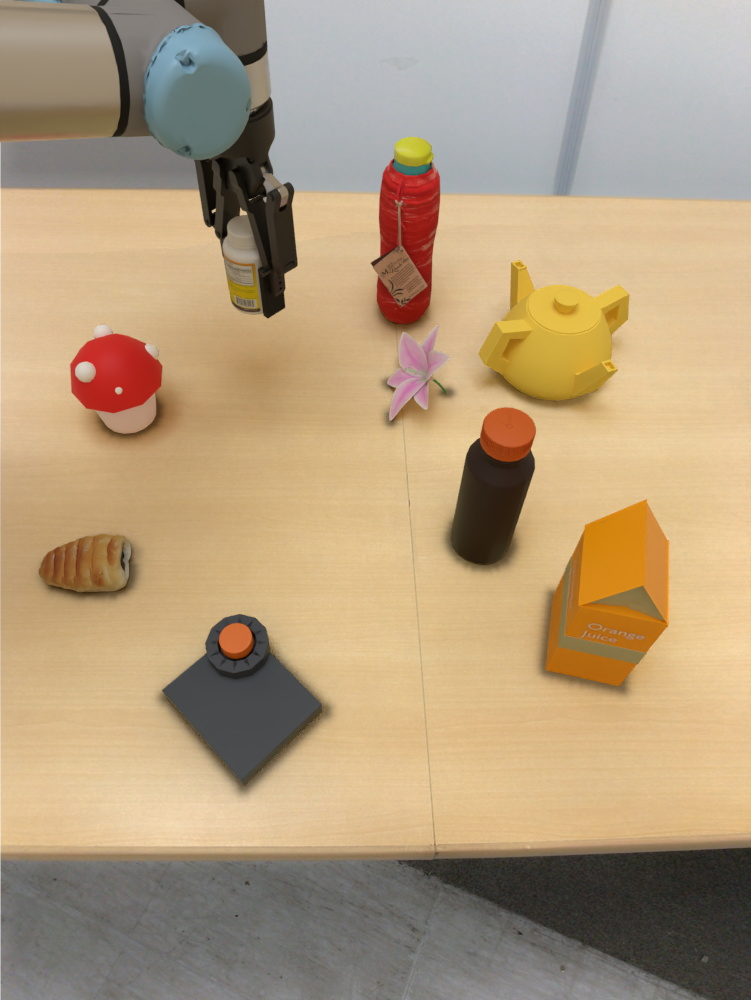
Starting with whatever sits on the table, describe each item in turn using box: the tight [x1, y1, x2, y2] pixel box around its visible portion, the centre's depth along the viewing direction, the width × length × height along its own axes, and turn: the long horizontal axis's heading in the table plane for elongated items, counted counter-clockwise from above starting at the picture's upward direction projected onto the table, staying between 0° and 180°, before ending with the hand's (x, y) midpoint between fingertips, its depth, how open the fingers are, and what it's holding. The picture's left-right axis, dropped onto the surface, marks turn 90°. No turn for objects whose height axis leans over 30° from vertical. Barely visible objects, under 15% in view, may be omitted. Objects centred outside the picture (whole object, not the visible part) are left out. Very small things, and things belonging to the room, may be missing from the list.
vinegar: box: [450, 406, 537, 565], centre depth 76 cm, size 7×7×20 cm
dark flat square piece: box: [161, 613, 323, 786], centre depth 72 cm, size 13×11×4 cm
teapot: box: [477, 259, 630, 402], centre depth 95 cm, size 17×17×12 cm
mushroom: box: [69, 324, 163, 435], centre depth 89 cm, size 11×11×12 cm
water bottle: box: [370, 136, 441, 325], centre depth 95 cm, size 12×8×25 cm, turn 161°
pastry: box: [38, 533, 132, 593], centre depth 80 cm, size 9×7×4 cm
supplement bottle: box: [222, 214, 263, 316], centre depth 83 cm, size 6×6×10 cm
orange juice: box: [544, 498, 670, 687], centre depth 70 cm, size 8×9×20 cm
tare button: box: [219, 623, 254, 659], centre depth 73 cm, size 3×3×2 cm
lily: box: [386, 324, 451, 422], centre depth 94 cm, size 12×12×10 cm
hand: (256, 298), depth 87 cm, fingers closed on supplement bottle, 6 cm apart
